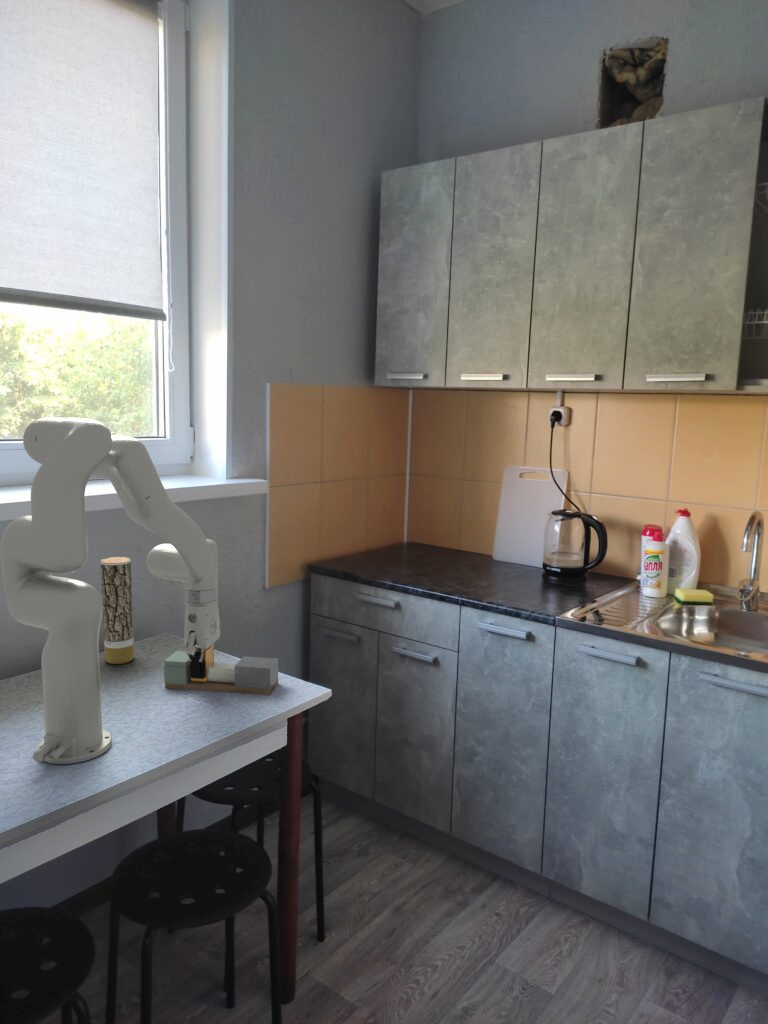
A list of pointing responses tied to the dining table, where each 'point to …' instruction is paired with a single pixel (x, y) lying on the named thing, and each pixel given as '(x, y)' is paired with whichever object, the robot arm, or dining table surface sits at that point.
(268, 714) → the dining table surface
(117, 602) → the brown bark cylinder
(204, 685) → the board
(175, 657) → the socket
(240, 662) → the sleeve
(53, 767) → the dining table surface
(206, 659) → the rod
